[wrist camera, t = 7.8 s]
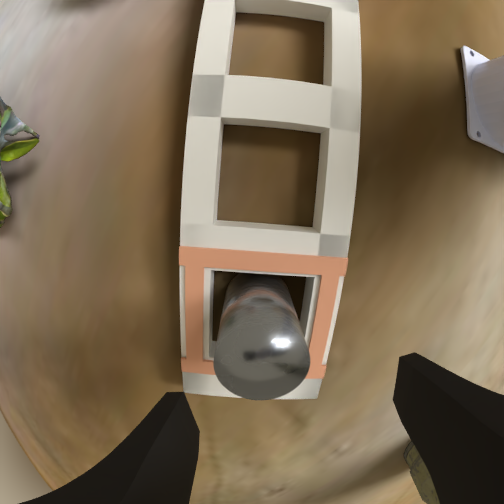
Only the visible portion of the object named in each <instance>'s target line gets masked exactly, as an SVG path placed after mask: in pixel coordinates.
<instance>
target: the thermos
mask: <svg viewBox="0 0 504 504" xmlns="http://www.w3.org/2000/svg"><path fill="white" fill-rule="evenodd" d="M404 458H405V461H406V463H407V464H408V465H409V467H410V470H411V471H410V473H411V476H412V479H413V481H414V483H415V485H416V487H417V489H418V492H419V494H420V496H421V498H422V500H423V501H424V502H426V503H427V504H440V503H439V499H438V496H437V493H436V490H435V487H434V484H433V482H432V479H431V476H430V474H429V472H428V469H427V467H426V465H425V463H424V462H423V460H422V458H421V456H420V454H419V453H418V451H417V449H416V447H415V445H414V444H413V442H412V441H411V442H410V444H409V445H408V447H407V448H406V450H405V453H404Z"/></svg>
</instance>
